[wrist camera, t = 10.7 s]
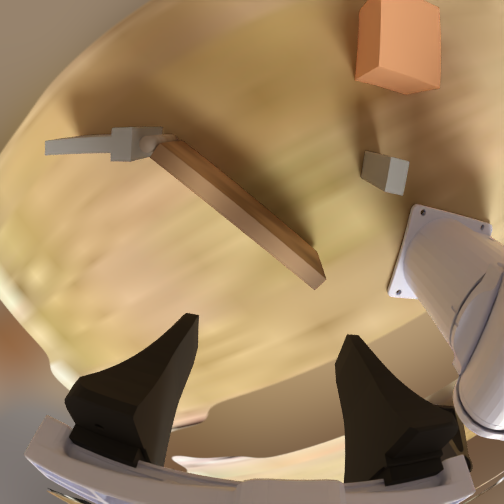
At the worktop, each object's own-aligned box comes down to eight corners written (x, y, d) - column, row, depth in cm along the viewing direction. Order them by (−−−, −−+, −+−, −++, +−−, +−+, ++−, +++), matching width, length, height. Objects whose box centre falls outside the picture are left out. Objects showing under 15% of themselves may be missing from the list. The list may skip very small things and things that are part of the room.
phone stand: (459, 406, 29) (484, 467, 18) (433, 430, 32) (452, 489, 21) (424, 403, 29) (450, 476, 18) (396, 428, 31) (413, 498, 20)
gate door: (317, 252, 21) (326, 279, 17) (307, 261, 21) (314, 290, 17) (170, 131, 18) (145, 132, 14) (162, 142, 19) (135, 146, 15)
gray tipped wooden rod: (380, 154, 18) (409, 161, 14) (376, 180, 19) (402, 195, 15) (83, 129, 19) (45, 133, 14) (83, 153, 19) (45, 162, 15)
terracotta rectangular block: (408, 27, 14) (438, 7, 9) (405, 95, 16) (439, 88, 12) (359, 11, 14) (380, -16, 9) (354, 80, 16) (378, 66, 12)
